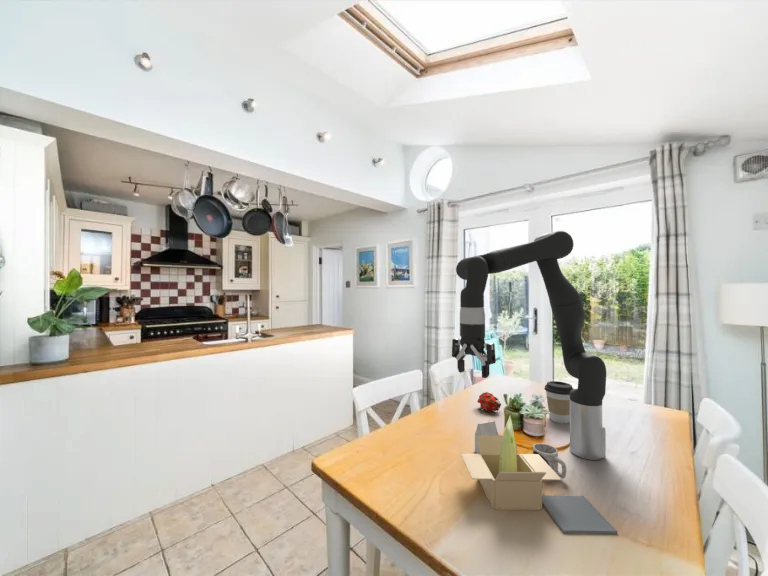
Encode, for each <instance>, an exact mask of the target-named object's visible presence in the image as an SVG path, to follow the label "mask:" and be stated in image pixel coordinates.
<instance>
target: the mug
mask: <svg viewBox="0 0 768 576" xmlns="http://www.w3.org/2000/svg"><path fill="white" fill-rule="evenodd" d="M558 451H559V450H558V449H557V448H556V447H555V446H553V445H550V444H547V443H541V442H540V443H539V442H538V443H534V444H533V446H532V454H539V455H540V456H541V457H542V459H543V460H544V461H545V462H546V463H547V464H548V465H549V466H550V467H551V468H552V469H553V470H554V472H555V473H556V474H557V475H558V476H559V477H560V478H561V479H565V478H566V476H567V465H566V462H565V461H563V459H561V458H560V457H559V452H558ZM559 464H560V465H561V472H560V471H559Z"/></svg>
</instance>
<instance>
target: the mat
mask: <svg viewBox="0 0 768 576" xmlns="http://www.w3.org/2000/svg"><path fill="white" fill-rule="evenodd" d="M542 507H543V508H544V509H545V510H546V512H547V513H548V514H549V515H550V517H551V518H552V520H553V521H554V523H555V524H556V525H557V527H558V528H559V529H560V530H561V533H563V534H594V535H595V534H599V535H600V534H603V535H604V534H605V535H606V534H607V535H608V534H609V535H618V530H617V529H616V528H615V527H614V525H612V524H611V523H610V522H609V521H608V520H607V519H606V518H605V516H603V515H602V514H601V512H600V511H599V510H598V509H597V508H596V507H595V506H594V505H593V504H592V503H591V502H590V501H589V499H588V498H586V497H585V496H584V495H543V494H542Z"/></svg>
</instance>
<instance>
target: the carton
mask: <svg viewBox="0 0 768 576" xmlns="http://www.w3.org/2000/svg"><path fill="white" fill-rule="evenodd" d="M502 437H503V435H499V436H497V435H477V439H478V444H479V450H480V454H477V453H460V455H461V457H462V459H463V461H464V464H465V466H466V468H467V471H468V473H469V476H470V477H471V480H479V483H480V485H481V487H482V489H483V491H484V493H485V496H486V498H487V499H488V502H489V503H490V506H491V508H492V509H493V510H494V509H495V510H502V511H503V510H509V511H512V510H513V511H515V510H516V511H519V510H520V511H521V510H522V511H524V510H525V511H529V510H530V511H533V510H534V511H541V510H543V505H542V495H543V481H562V479H563V478H561V477H559V476H558V475H557V474H556V473H555V472H554V470H553V469H552V468H551V467H550V466H549V465H548V464H547V463H546V462H545V461H544V460H543V459H542V457H541V456H540V455H539V454H533V453H519V450H518V446H517V442H516V439H515V436H514V439H515V447H516V458H517V472H499V460H500V450H501V443H502Z"/></svg>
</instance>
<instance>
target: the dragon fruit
mask: <svg viewBox="0 0 768 576" xmlns="http://www.w3.org/2000/svg"><path fill="white" fill-rule="evenodd" d="M476 402H477V403H478V404H479V405H480V409H481V410H484V409H485V411H487V412H488V413H490V414H494V413H495V412H494V411H496V412H499V410H500V409H501V406H502V403H501V402H500V401H499V398H498V397H497V396H494V394H493V393H490V392H489V391H485V392H482V393H481V394H480V395H479V396H478V399H477V401H476Z"/></svg>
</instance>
